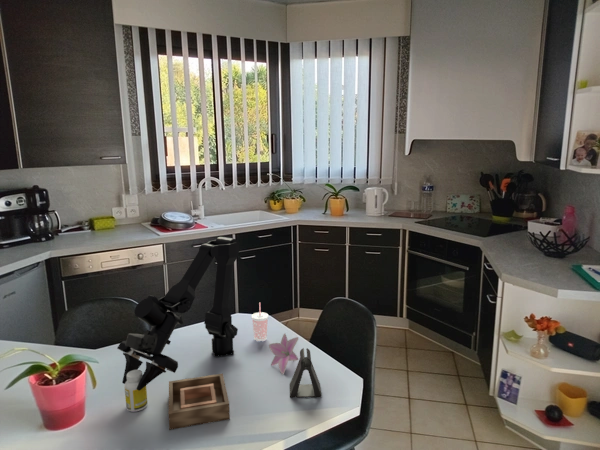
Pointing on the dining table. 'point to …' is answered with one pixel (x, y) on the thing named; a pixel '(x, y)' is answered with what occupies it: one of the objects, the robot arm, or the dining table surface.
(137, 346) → the robot arm
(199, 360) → the dining table surface
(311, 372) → the phone stand
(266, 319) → the beverage cup
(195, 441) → the dining table surface
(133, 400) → the supplement bottle
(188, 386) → the box
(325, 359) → the dining table surface
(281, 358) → the lily
